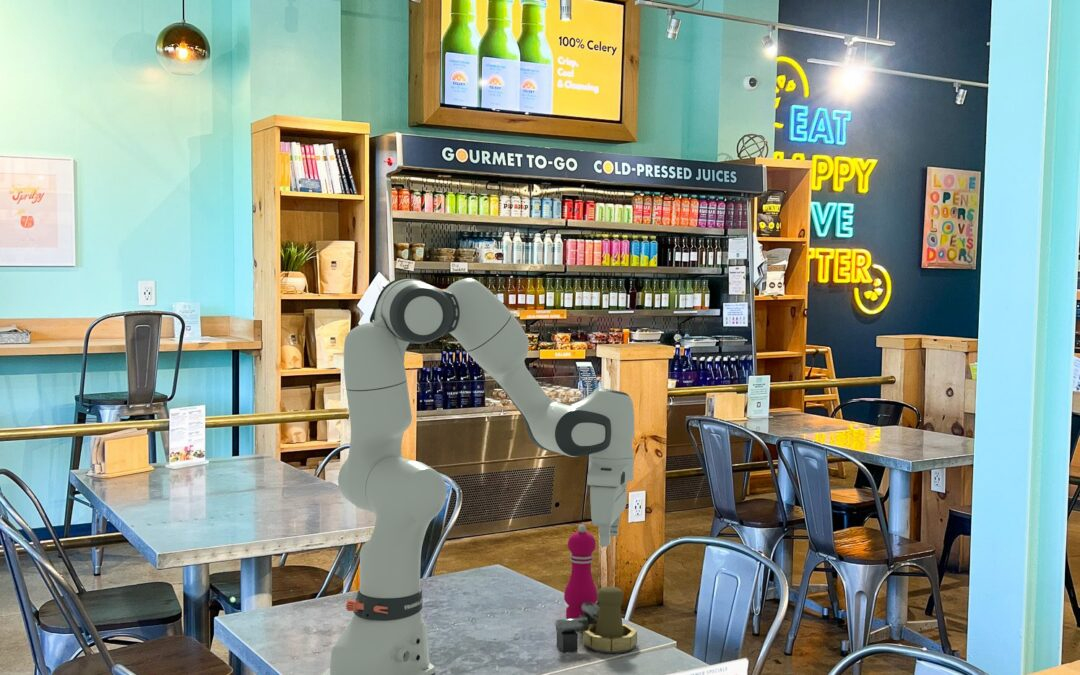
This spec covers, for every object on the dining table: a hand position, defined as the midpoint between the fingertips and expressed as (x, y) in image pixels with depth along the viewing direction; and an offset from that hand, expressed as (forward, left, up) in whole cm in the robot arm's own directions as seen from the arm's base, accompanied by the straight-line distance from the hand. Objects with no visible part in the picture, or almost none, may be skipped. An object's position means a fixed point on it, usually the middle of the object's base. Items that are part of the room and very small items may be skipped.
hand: (609, 540), depth 207 cm
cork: (0, -1, -21) cm, 21 cm away
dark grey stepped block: (-5, +6, -21) cm, 22 cm away
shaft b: (+6, +5, -21) cm, 22 cm away
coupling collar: (0, -1, -21) cm, 21 cm away
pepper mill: (+15, +11, -21) cm, 28 cm away
